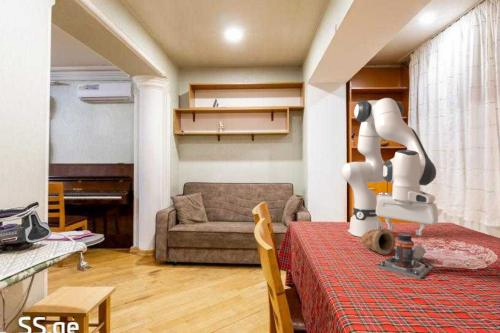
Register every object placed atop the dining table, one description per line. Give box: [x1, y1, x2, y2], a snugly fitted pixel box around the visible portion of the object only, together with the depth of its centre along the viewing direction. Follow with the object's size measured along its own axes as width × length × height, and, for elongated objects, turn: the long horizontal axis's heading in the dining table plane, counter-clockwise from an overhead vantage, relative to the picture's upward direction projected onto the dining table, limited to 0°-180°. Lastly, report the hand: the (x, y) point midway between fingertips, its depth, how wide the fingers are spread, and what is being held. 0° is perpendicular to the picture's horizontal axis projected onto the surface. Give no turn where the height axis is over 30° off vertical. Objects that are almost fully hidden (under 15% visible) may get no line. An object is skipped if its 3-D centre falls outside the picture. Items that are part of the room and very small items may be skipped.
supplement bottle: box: [394, 232, 415, 268], centre depth 106 cm, size 6×6×11 cm
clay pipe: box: [360, 228, 396, 255], centre depth 128 cm, size 19×11×15 cm
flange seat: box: [376, 245, 433, 280], centre depth 109 cm, size 24×14×5 cm, turn 134°
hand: (404, 232), depth 106 cm, fingers open, 8 cm apart
